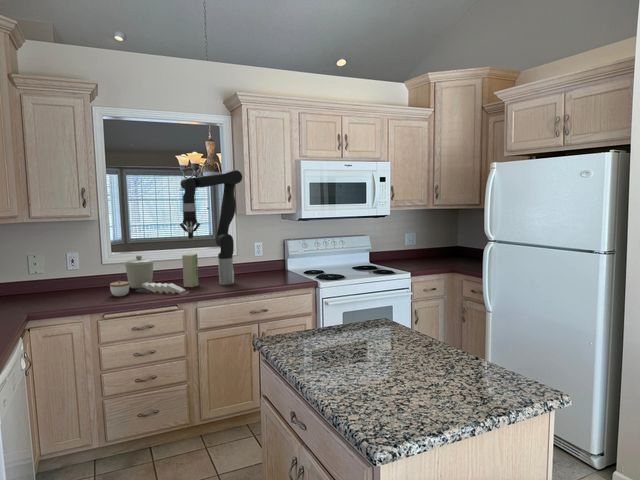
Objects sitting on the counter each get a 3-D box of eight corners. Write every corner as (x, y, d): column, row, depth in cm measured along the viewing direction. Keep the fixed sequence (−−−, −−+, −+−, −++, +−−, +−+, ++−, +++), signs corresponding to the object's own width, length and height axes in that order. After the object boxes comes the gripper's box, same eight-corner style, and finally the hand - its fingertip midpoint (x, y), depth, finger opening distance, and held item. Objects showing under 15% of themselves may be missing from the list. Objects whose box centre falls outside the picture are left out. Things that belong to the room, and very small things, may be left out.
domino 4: (173, 289, 274) (159, 282, 276) (168, 291, 269) (154, 284, 271) (172, 291, 274) (159, 285, 276) (167, 293, 269) (154, 286, 271)
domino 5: (179, 289, 273) (165, 282, 275) (174, 291, 268) (160, 284, 270) (178, 291, 273) (165, 285, 275) (174, 293, 268) (160, 287, 270)
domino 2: (160, 288, 276) (147, 282, 278) (155, 290, 271) (142, 283, 273) (160, 291, 276) (146, 284, 279) (155, 292, 272) (141, 286, 274)
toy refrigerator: (194, 288, 286) (192, 255, 284) (183, 287, 288) (181, 255, 286) (199, 285, 294) (198, 253, 292) (189, 285, 296) (187, 253, 293)
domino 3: (167, 289, 275) (153, 282, 277) (162, 290, 270) (148, 284, 272) (166, 291, 275) (152, 284, 277) (161, 293, 271) (147, 286, 273)
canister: (122, 291, 281) (120, 257, 278) (128, 285, 298) (126, 253, 296) (153, 289, 284) (151, 256, 282) (157, 283, 302) (155, 252, 299)
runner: (190, 292, 273) (190, 291, 273) (182, 296, 265) (182, 295, 265) (156, 291, 280) (156, 290, 279) (147, 294, 271) (147, 293, 271)
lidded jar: (111, 298, 261) (109, 283, 260) (110, 295, 271) (109, 279, 270) (131, 296, 266) (129, 281, 265) (129, 293, 276) (128, 277, 274)
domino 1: (154, 288, 277) (140, 288, 280) (149, 290, 273) (135, 290, 275) (154, 290, 278) (141, 291, 280) (149, 292, 273) (135, 292, 275)
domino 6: (185, 289, 272) (171, 283, 274) (181, 291, 267) (166, 284, 269) (184, 292, 272) (171, 285, 274) (180, 294, 267) (166, 287, 269)
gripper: (201, 210, 282) (203, 237, 284) (180, 210, 282) (182, 238, 284) (198, 210, 275) (199, 238, 277) (176, 211, 275) (178, 239, 277)
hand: (190, 238), depth 280 cm, fingers closed
